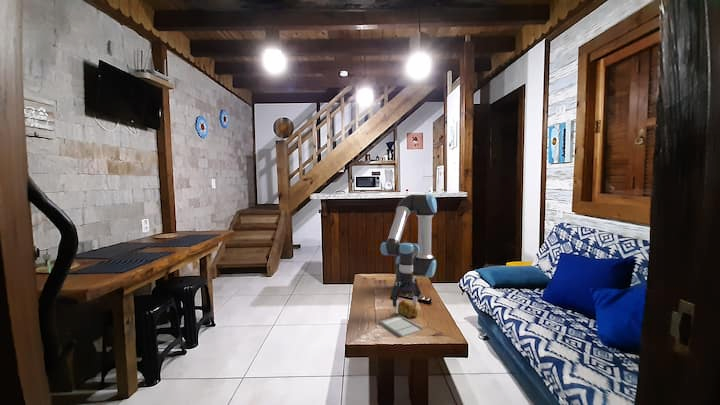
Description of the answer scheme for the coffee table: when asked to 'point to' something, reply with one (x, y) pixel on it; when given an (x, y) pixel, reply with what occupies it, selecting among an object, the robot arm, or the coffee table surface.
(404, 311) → the rock
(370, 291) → the coffee table surface
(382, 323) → the mat
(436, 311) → the coffee table surface
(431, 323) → the coffee table surface
